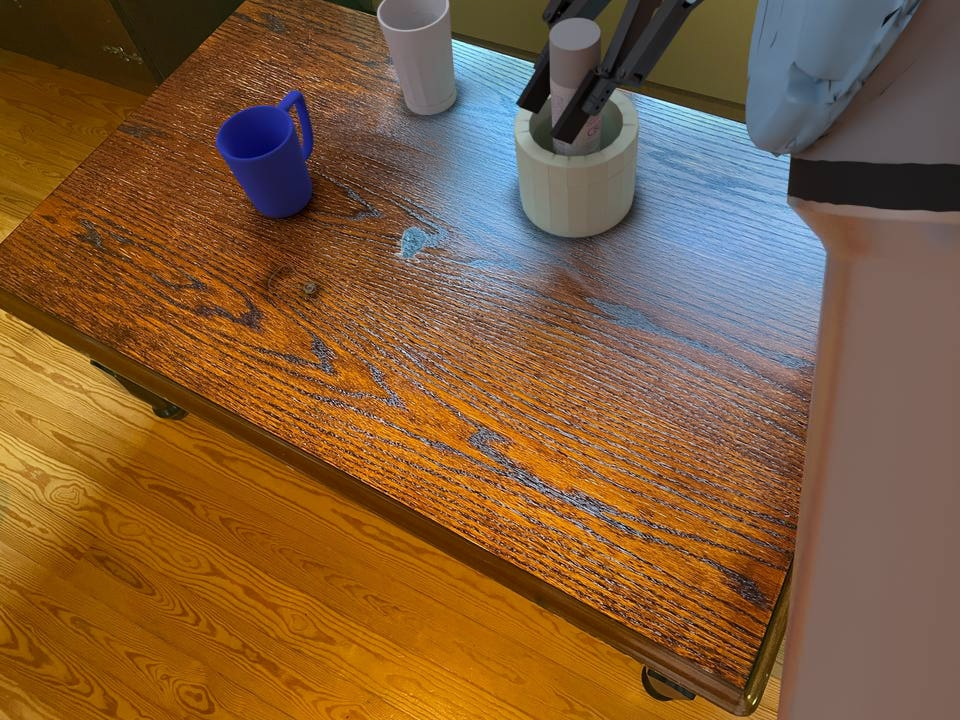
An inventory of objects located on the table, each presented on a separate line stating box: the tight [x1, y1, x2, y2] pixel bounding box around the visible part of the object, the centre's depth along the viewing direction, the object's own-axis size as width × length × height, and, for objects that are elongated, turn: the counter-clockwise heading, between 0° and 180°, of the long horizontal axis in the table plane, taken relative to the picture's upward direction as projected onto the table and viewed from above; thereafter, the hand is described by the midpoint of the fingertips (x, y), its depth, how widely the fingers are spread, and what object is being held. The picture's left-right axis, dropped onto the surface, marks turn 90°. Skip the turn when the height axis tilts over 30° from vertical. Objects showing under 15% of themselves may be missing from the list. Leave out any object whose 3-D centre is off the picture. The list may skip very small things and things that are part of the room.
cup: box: [376, 0, 458, 116], centre depth 91 cm, size 8×8×12 cm
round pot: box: [513, 88, 640, 239], centre depth 80 cm, size 12×12×10 cm
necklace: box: [268, 264, 317, 294], centre depth 82 cm, size 3×5×1 cm, turn 80°
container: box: [548, 18, 602, 157], centre depth 74 cm, size 5×5×15 cm
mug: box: [215, 89, 315, 219], centre depth 86 cm, size 8×12×10 cm
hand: (543, 123), depth 74 cm, fingers closed on container, 5 cm apart
